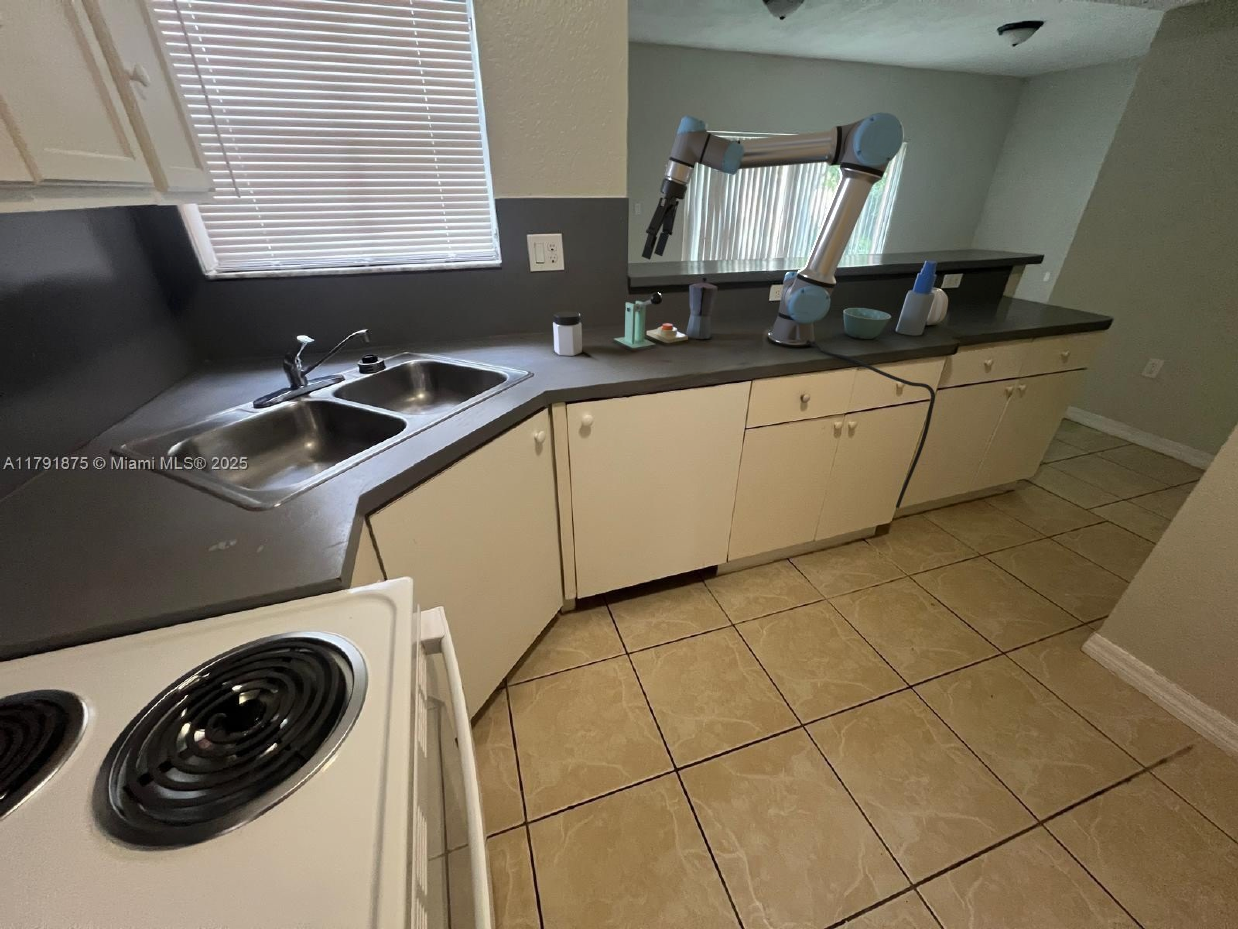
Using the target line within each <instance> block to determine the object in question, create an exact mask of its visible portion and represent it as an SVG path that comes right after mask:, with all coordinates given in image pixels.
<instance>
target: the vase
mask: <svg viewBox="0 0 1238 929" xmlns="http://www.w3.org/2000/svg"><path fill="white" fill-rule="evenodd" d="M931 292H933V293H935V295H934V296H935V297H934V300H933V303H932V306H931V309H930V312H929V315H928V318H927V321H926V324H925V326H935V325H937V324H939V323H941V322H942V321H944V320H945V317H946V315H947V311H948V306H949V297H948V295H947V294H946V292H945V291H944V290H942V289H941V288H939V287H938V288H937V287H933V288H932V291H931Z"/></svg>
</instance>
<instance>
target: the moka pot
mask: <svg viewBox="0 0 1238 929" xmlns="http://www.w3.org/2000/svg"><path fill="white" fill-rule="evenodd" d="M701 280H702V282H698V283H693V284H690V285H689V287H688V288H689V309H690V312H689V313H690V314H689V320H688V324H687V327H686V331H685V335H687V336H688V338H691V339H693V340H694V339H695V340H707V339H710V338H711V330H712V329H711V325H712V324H711V314H712V310H713V309H714V305H715V300H716V297H717V292H718V286H716V285H714V284H711V283H708V282H707V280H708V278H707V277H702V278H701Z"/></svg>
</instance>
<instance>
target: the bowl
mask: <svg viewBox="0 0 1238 929" xmlns="http://www.w3.org/2000/svg"><path fill="white" fill-rule="evenodd" d="M891 318H892V316H891V315H890V314H889V313H888V312H884V311H881V310H877V309H873V308H872V309H871V308H864V307H849V308H845V309H844V310H843V323H844V332H846V334H847V335H848V336H849V337H852V338H855V339H859V340H872V339H874V338H876V337H878V336H879V335H880V334H881V332H882V331H883V329H885V327H886V325H887V324H888V323H889V321H890V319H891Z"/></svg>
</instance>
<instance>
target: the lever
mask: <svg viewBox="0 0 1238 929" xmlns="http://www.w3.org/2000/svg"><path fill="white" fill-rule="evenodd" d="M662 302H663V296H662V294H661V293H659V292H653V293H652V294H651V295H650V298H649V299H647V300H646V301H643V303H642V304H640V303H639V304H636V303H634V304H635V305H636V309H635V313H638V312H640V311H641V308H642V307H644V306H646V307H647V306H649V305H651V304H652V305H654V306H658V305H660V304H661V303H662Z"/></svg>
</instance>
